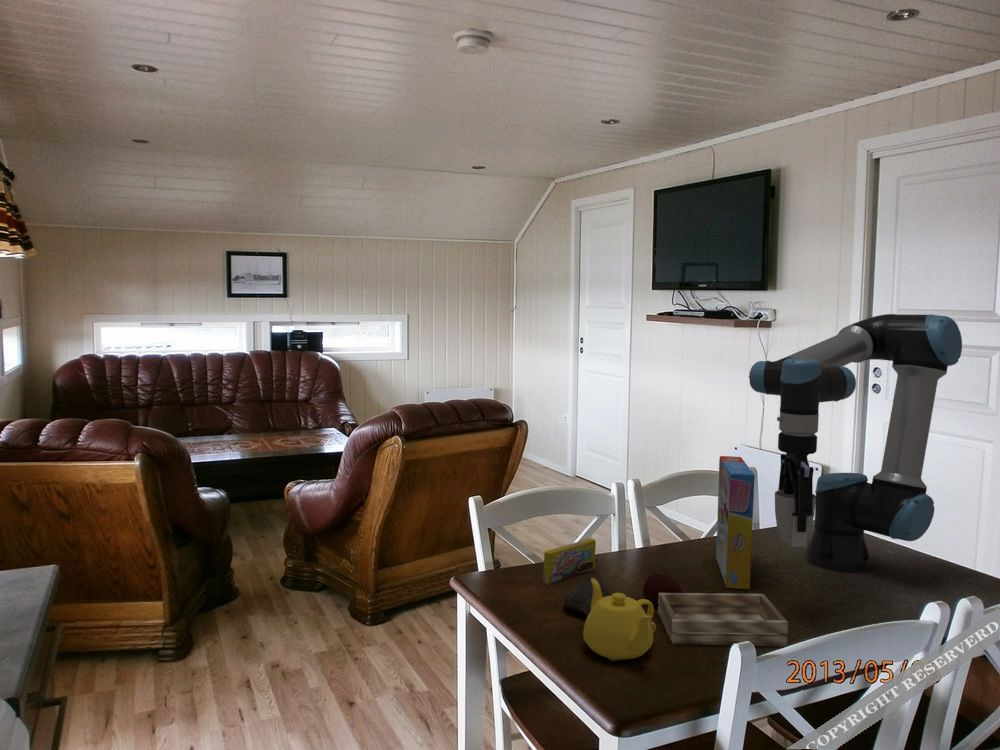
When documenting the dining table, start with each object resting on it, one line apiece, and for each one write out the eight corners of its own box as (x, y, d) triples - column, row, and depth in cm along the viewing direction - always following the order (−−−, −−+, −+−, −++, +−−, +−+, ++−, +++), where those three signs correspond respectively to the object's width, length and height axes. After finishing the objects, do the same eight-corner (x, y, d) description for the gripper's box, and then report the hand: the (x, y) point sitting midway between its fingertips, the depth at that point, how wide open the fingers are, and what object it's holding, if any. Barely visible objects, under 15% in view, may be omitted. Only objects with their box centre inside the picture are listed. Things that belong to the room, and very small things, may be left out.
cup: (808, 536, 161) (810, 490, 160) (818, 548, 153) (820, 500, 152) (769, 534, 162) (771, 489, 161) (776, 546, 154) (779, 498, 153)
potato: (680, 613, 159) (681, 582, 158) (640, 608, 162) (641, 577, 161) (683, 600, 166) (684, 570, 165) (644, 595, 169) (645, 565, 168)
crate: (762, 616, 158) (763, 593, 157) (786, 647, 144) (788, 622, 143) (658, 615, 158) (658, 592, 157) (672, 646, 144) (673, 621, 143)
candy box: (548, 588, 173) (548, 553, 172) (542, 585, 174) (542, 551, 174) (595, 571, 183) (596, 539, 182) (589, 569, 185) (589, 536, 184)
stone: (563, 633, 156) (591, 612, 150) (551, 594, 161) (578, 573, 155) (598, 631, 162) (626, 611, 156) (585, 594, 167) (612, 573, 161)
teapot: (687, 668, 135) (689, 607, 134) (617, 685, 129) (619, 621, 128) (625, 624, 154) (626, 570, 152) (561, 637, 147) (562, 581, 146)
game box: (750, 590, 172) (755, 474, 169) (725, 589, 173) (730, 473, 170) (737, 559, 192) (741, 455, 189) (715, 558, 193) (719, 455, 190)
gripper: (765, 424, 166) (761, 524, 168) (795, 441, 145) (789, 555, 147) (800, 425, 165) (795, 525, 167) (834, 442, 145) (828, 556, 147)
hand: (792, 539), depth 157 cm, fingers closed on cup, 8 cm apart
